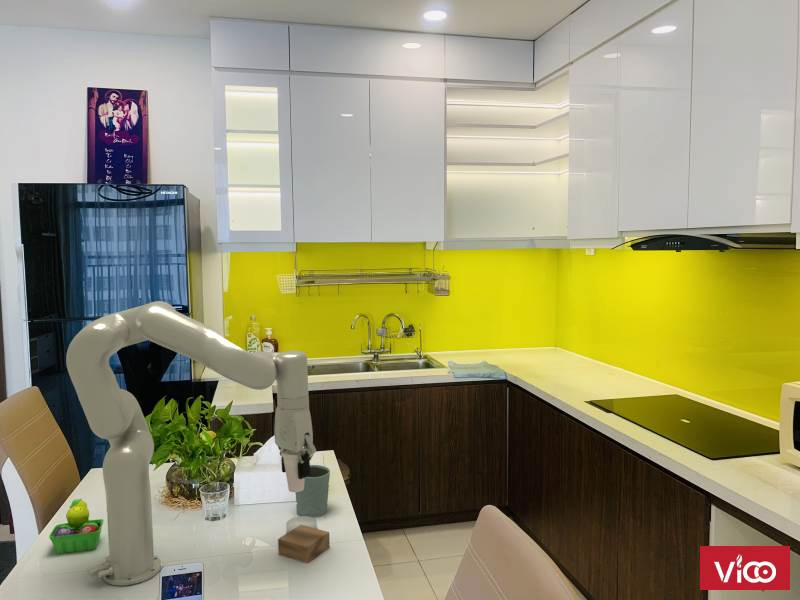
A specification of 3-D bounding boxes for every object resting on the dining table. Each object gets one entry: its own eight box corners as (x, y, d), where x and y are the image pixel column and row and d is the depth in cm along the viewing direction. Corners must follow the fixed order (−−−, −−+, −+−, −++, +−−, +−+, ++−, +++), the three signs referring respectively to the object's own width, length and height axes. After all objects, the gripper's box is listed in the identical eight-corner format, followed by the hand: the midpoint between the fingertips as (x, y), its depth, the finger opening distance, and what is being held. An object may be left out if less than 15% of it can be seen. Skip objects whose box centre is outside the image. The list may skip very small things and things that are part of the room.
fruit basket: (49, 557, 156) (46, 513, 155) (58, 541, 165) (55, 499, 164) (99, 551, 159) (97, 507, 158) (106, 535, 168) (103, 494, 167)
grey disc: (298, 541, 163) (298, 532, 163) (280, 531, 169) (280, 522, 169) (323, 531, 169) (322, 522, 169) (304, 522, 175) (304, 513, 175)
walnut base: (307, 563, 152) (307, 547, 152) (278, 554, 157) (278, 538, 156) (329, 547, 160) (329, 532, 160) (301, 539, 165) (300, 524, 164)
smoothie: (304, 495, 153) (301, 438, 152) (279, 493, 154) (276, 437, 153) (313, 485, 159) (310, 430, 158) (288, 483, 160) (286, 429, 159)
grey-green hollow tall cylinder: (293, 506, 185) (292, 466, 184) (327, 502, 188) (326, 463, 187) (297, 521, 176) (296, 479, 174) (333, 516, 178) (332, 475, 177)
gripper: (260, 399, 158) (263, 470, 160) (302, 411, 146) (305, 487, 148) (285, 393, 163) (287, 462, 165) (327, 405, 151) (330, 478, 153)
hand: (295, 473), depth 156 cm, fingers closed on smoothie, 5 cm apart
